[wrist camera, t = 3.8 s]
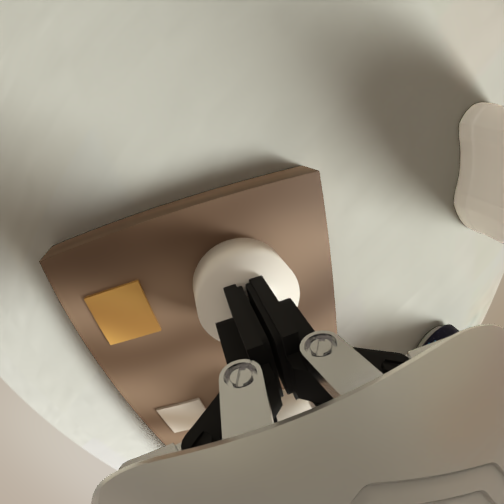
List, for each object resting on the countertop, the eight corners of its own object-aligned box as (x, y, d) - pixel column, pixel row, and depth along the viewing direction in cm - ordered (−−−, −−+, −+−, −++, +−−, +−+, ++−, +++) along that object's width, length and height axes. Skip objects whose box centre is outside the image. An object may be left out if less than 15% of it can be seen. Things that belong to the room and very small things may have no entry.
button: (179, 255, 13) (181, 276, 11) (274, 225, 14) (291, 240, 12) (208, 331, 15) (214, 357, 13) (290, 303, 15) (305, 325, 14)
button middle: (237, 404, 15) (246, 431, 14) (310, 378, 16) (324, 402, 14) (254, 437, 17) (262, 461, 16) (315, 415, 18) (326, 436, 16)
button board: (52, 246, 13) (37, 263, 11) (301, 165, 15) (321, 171, 13) (203, 469, 25) (207, 486, 23) (331, 427, 27) (339, 442, 25)
